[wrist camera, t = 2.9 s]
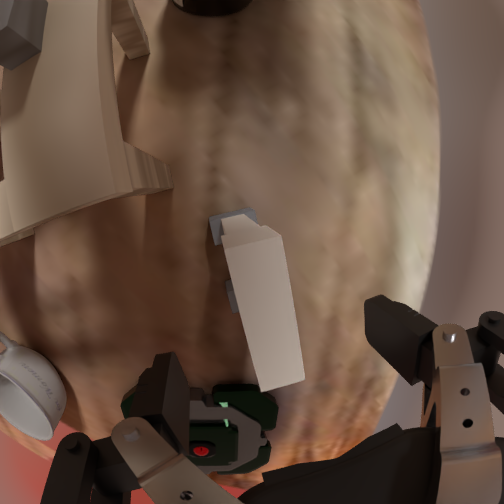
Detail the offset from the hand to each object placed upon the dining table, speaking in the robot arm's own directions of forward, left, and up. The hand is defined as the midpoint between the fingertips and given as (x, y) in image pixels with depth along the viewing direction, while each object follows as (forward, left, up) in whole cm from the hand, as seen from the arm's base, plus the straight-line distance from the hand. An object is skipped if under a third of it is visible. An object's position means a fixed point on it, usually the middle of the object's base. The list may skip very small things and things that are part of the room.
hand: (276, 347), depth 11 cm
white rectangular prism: (0, 0, -15) cm, 15 cm away
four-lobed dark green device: (+10, +21, -16) cm, 28 cm away
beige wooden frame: (+13, -15, -15) cm, 25 cm away
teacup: (+28, +7, -15) cm, 33 cm away
